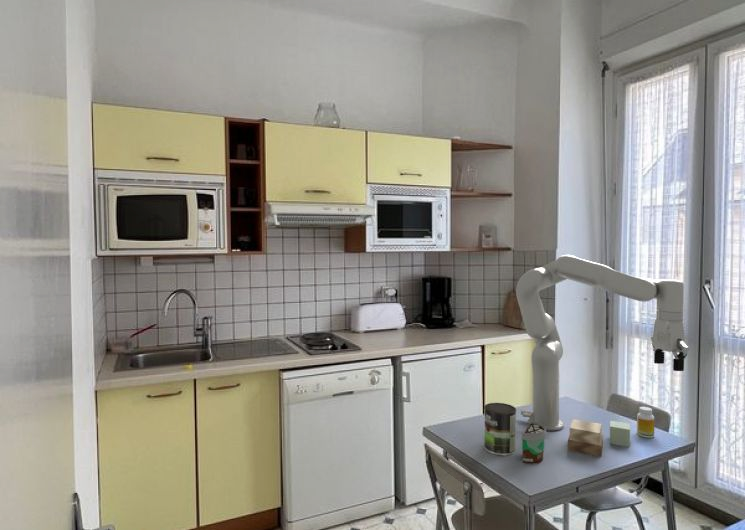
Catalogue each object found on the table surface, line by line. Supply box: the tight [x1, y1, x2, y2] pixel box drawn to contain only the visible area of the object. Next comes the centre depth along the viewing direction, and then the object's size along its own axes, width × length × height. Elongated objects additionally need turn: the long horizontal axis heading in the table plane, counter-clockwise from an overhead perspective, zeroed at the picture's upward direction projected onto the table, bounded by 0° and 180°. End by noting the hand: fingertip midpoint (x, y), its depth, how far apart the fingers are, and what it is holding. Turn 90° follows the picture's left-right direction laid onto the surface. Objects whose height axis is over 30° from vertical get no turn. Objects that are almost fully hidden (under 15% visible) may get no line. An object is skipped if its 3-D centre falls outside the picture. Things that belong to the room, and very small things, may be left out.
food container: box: [521, 421, 548, 465], centre depth 145 cm, size 12×6×10 cm, turn 148°
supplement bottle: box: [636, 406, 655, 439], centre depth 164 cm, size 5×5×10 cm
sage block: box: [609, 420, 631, 448], centre depth 158 cm, size 6×6×6 cm
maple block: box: [569, 418, 602, 445], centre depth 153 cm, size 9×9×4 cm
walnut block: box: [567, 434, 604, 458], centre depth 154 cm, size 10×10×4 cm
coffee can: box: [483, 402, 517, 457], centre depth 153 cm, size 10×10×14 cm
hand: (668, 367), depth 153 cm, fingers open, 9 cm apart
